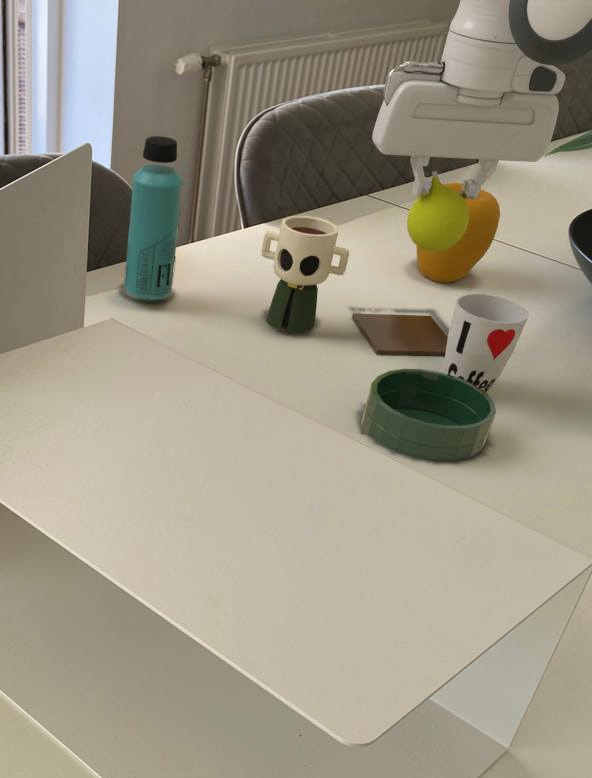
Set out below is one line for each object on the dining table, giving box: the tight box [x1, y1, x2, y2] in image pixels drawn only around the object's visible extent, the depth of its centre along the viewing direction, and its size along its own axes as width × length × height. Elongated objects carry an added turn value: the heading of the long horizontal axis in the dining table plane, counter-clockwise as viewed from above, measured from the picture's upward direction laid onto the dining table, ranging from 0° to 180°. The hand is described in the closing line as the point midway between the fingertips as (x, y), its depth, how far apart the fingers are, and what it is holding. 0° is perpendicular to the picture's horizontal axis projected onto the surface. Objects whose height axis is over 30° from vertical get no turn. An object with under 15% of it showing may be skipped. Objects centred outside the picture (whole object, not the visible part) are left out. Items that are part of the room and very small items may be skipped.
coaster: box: [351, 313, 448, 357], centre depth 130 cm, size 11×11×1 cm
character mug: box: [261, 215, 350, 334], centre depth 125 cm, size 11×7×13 cm, turn 65°
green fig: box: [406, 163, 469, 252], centre depth 119 cm, size 7×7×10 cm
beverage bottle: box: [123, 135, 184, 301], centre depth 126 cm, size 6×7×20 cm
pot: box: [360, 368, 497, 462], centre depth 108 cm, size 13×13×5 cm
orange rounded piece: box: [416, 182, 501, 284], centre depth 143 cm, size 11×11×13 cm
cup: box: [443, 293, 530, 394], centre depth 117 cm, size 8×8×10 cm
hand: (444, 196), depth 118 cm, fingers closed on green fig, 5 cm apart
